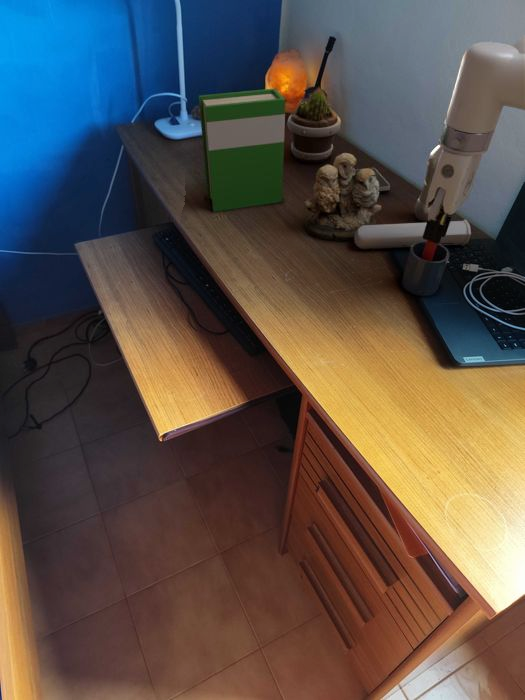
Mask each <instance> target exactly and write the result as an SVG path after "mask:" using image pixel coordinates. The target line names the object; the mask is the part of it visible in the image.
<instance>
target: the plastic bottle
mask: <svg viewBox="0 0 525 700" xmlns="http://www.w3.org/2000/svg"><path fill="white" fill-rule="evenodd" d="M439 141H440V139H439ZM439 141H438V142H439ZM442 150H443V148H442V147H441V146H440V145H439V144H438V145H437V146H435V147H434V149H433V150H431V152H430V154H429V155H428V159H427V166H426V172H425V178H424V183H423V186H422V188H421V190H420V194H419V196H418V198H417V200H416V203H415V205H414V211H413V212H414V216H415V218H416V219H417V220H419V221H421V222H422V223H427V220H428V219H427V218H428V215H429V213H430V210H431V207H432V205H431V206H430V207H429V208H427V206H426V200H427V196H428V192H429V189H430V185H431V182H432V179H433V176H434V173H435V170H436V167H437V164H438V161H439V158H440V155H441V153H442Z"/></svg>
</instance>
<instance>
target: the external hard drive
mask: <svg viewBox="0 0 525 700" xmlns="http://www.w3.org/2000/svg"><path fill="white" fill-rule="evenodd" d="M362 169H363V168H357V169H355V174H356V173H357V172H359V171H360V170H362ZM365 169H371V170H373V171H374V173H375V176H376V180H377V181H378V182H379V194H386V193H387V194H388V193H389V192H390V189H391V185H390V183H389V182H388V181H387V180H386V179H385V177H384V176H382V175H381V173H380V172H379V171H378V170H377V169H376V168H375V167H367V168H365Z"/></svg>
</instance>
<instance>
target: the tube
mask: <svg viewBox="0 0 525 700" xmlns="http://www.w3.org/2000/svg"><path fill="white" fill-rule="evenodd" d="M426 224H427V222H408V223H388V224H387V223H386V224H377V225H363V226H361V227H360V228H359V229H357V230H356V231H355V236H354V240H353V241H354V244H355V246H357V248H359V249H360V250H376V249H377V250H379V249H396V248H411V246H412V245H413V244H414V243H417V242H419V241H427V240H425V239H423V234H424V230H425V227H426ZM471 235H472V231H471V225H470V223H469V221H468V220H467V219H463V220H454V221H453V220H451V221H450V224H449V227H448V230H447V233H446V235H445V236H444V237H441V240H440V242H439V243H438V244H441V245H442V246H465V245H466V244H468V243H469V241H470V239H471ZM442 243H454V244H442ZM402 245H407V246H402Z"/></svg>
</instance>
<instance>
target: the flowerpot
mask: <svg viewBox="0 0 525 700" xmlns="http://www.w3.org/2000/svg"><path fill="white" fill-rule="evenodd" d="M320 87H321V85H320V86H318V87H316V89H315V88H314V91H313V92H311V94H309V97H307V98H306V99H304V100H302V101H300V103H297V104H298V106H297V107H295V108H294V109H293V110H292V112H291V113H292V114H290V115H289V116H288V118H287V122H286V127H287V128H288V130H289V131H290V132H291V141H292V142H291V144H290V147H291V148H290V151H291V152H292V154H293V156H294V158H295V159H297V160H298V161H300V162H303V163H309V164H310V163H311V164H312V163H314V164H315V163H316V164H317V163H318V164H319V163H323V162H325V161H326V160H328V159H329V157H330V156H331V155H332V151H333V149H334V145H333V142H334V140H335V136H336V134H337V133H338V132H339V130H340V128H341V124H342V121H341V118H340V117H339V116H338V113H336V112H335V111H334V110H333V109H332V108H331V104H329V96H328V95H326V91H325V90H326V89H325V88H324V89H323V88H320Z"/></svg>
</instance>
